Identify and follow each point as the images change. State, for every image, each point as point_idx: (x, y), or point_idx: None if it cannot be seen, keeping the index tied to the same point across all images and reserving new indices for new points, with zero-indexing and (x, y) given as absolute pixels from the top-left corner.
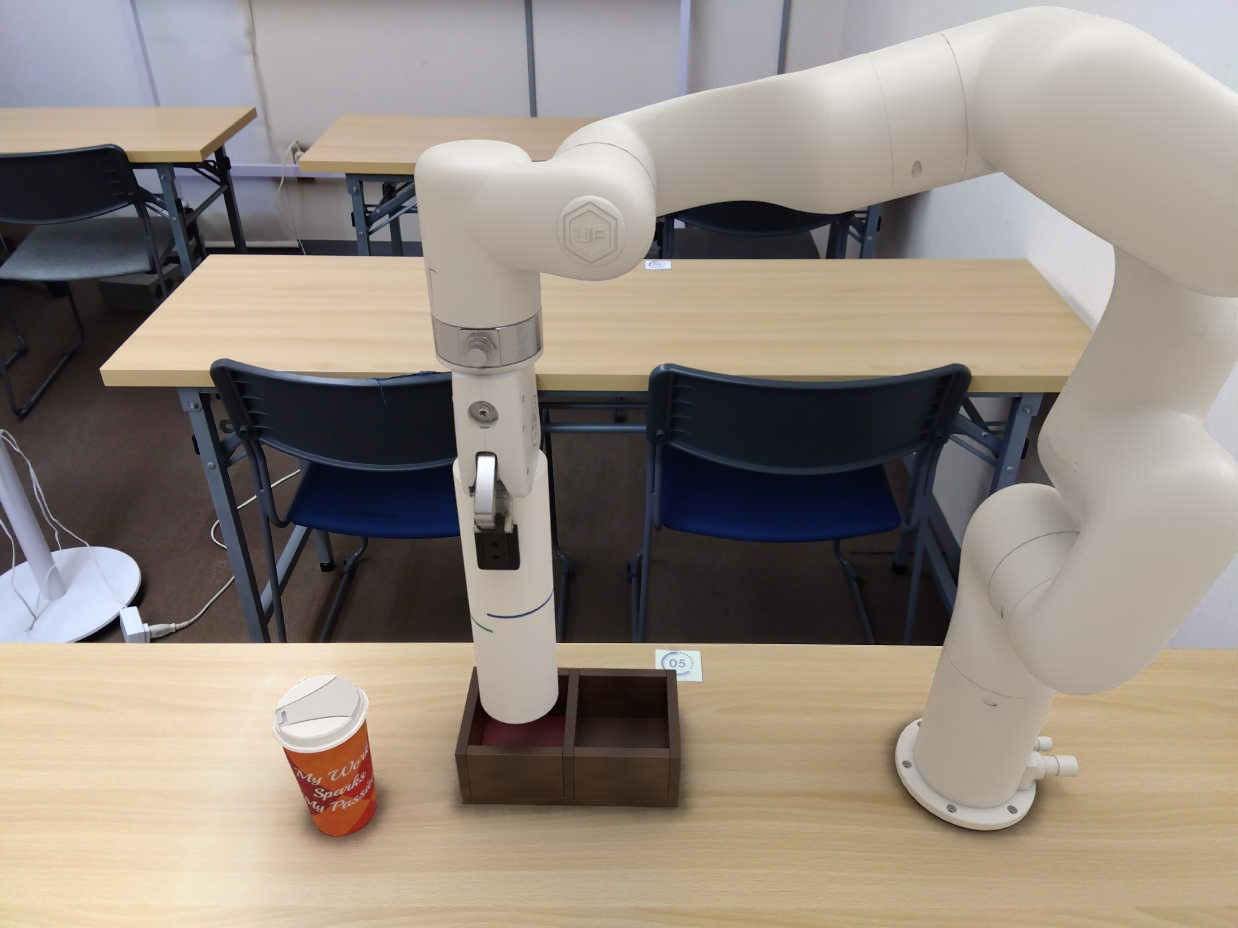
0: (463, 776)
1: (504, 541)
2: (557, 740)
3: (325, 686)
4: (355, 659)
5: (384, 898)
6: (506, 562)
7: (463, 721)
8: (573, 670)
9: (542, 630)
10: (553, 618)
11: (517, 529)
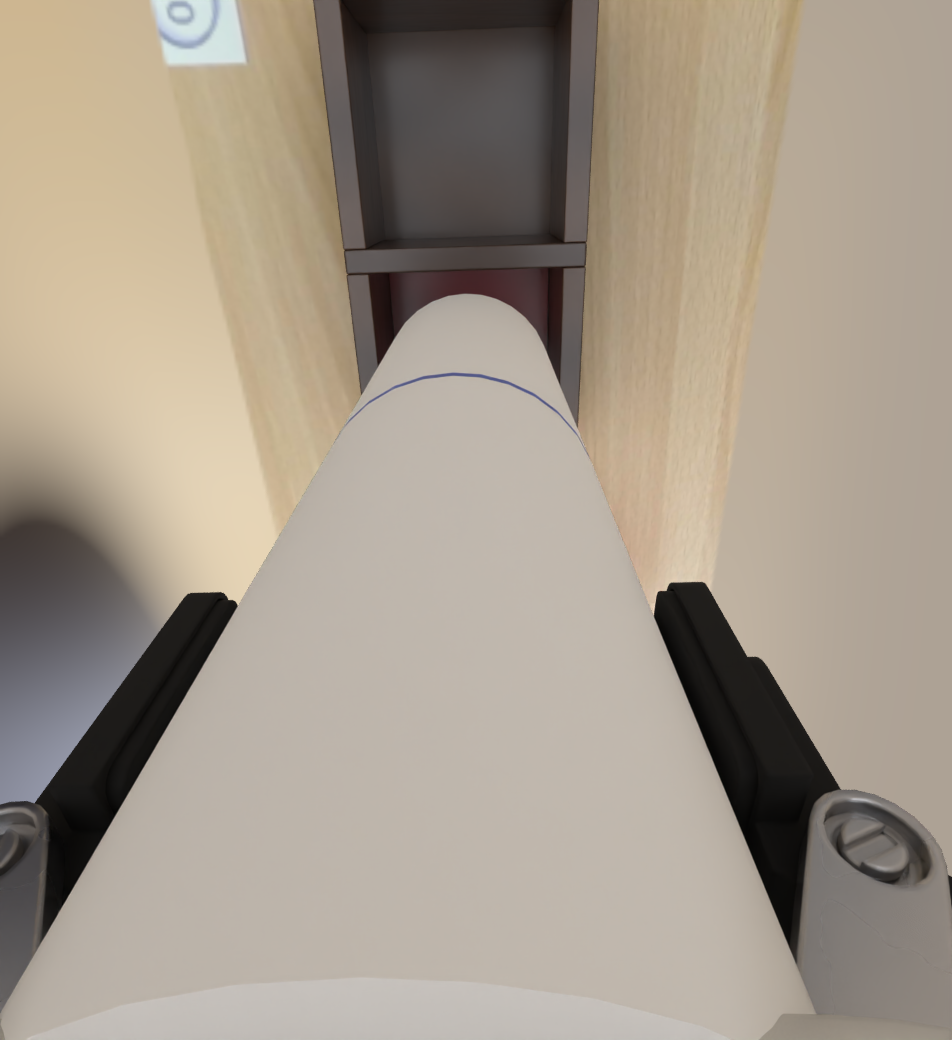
0: None
1: (824, 773)
2: (447, 281)
3: None
4: None
5: (699, 491)
6: (766, 666)
7: None
8: (354, 264)
9: (539, 375)
10: (475, 347)
11: (772, 750)
